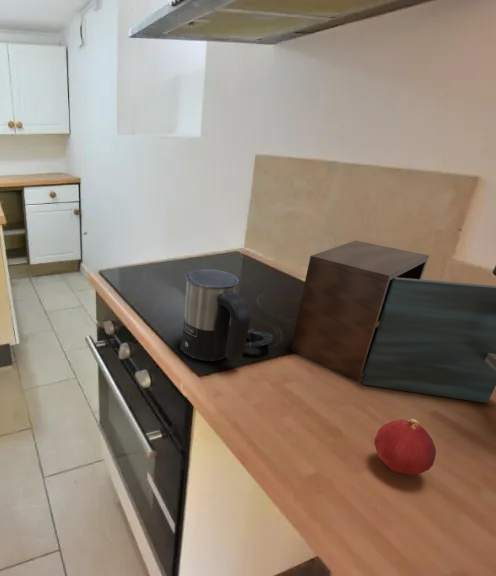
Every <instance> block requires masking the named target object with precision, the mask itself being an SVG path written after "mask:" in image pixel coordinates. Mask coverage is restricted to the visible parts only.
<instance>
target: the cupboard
mask: <svg viewBox="0 0 496 576" xmlns="http://www.w3.org/2000/svg"><path fill="white" fill-rule="evenodd" d="M429 258H430V254H429V255H428V254H425V253H419V252H415V251H409V250H406V249H405V250H404V249H399V248H395V247H390V246H384V245H380V244H375V243H371V242H365V241H362V240H361V241H360V240H352V241H350V242H346V243H344V244H342V245H338V246H336V247H335V246H334V247H333V248H329V249H326V250H324V251H320V252H318V253H315V254H312V255H310V256H309V261H308V264H307V265H308V266H307V270H306V275H305V280H304V285H303V288H302V289H303V290H302V294H301V299H300V304H299V307H298V312H297V317H296V322H295V327H294V331H293V336H292V341H291V345H290V351H291V352H293V353H295V354H297V355H300V356H302V357H304V358H306V359H308V360H311V361H312V362H315V363H317V364H319V365H321V366H324V367H325V368H328V369H330V370H332V371H334V372H336V373H339V374H341V375H343V376H345V377H347V378H350V379H352V380H353V381H356V382H358V381H359V380H362V378H363V375H364V371H365V368H366V365H367V362H368V358H369V355H370V352H371V349H372V345H373V342H374V339H375V336H376V333H377V329H378V326H379V323H380V320H381V316H382V313H383V310H384V307H385V303H386V300H387V297H388V294H389V290H390V287H391V284H392V281H393V277H398V278H410V279H422V278H423V275H424V272H425V269H426V267H427V265H428V264H427V263H428V261H429ZM422 280H423V279H422Z"/></svg>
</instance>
